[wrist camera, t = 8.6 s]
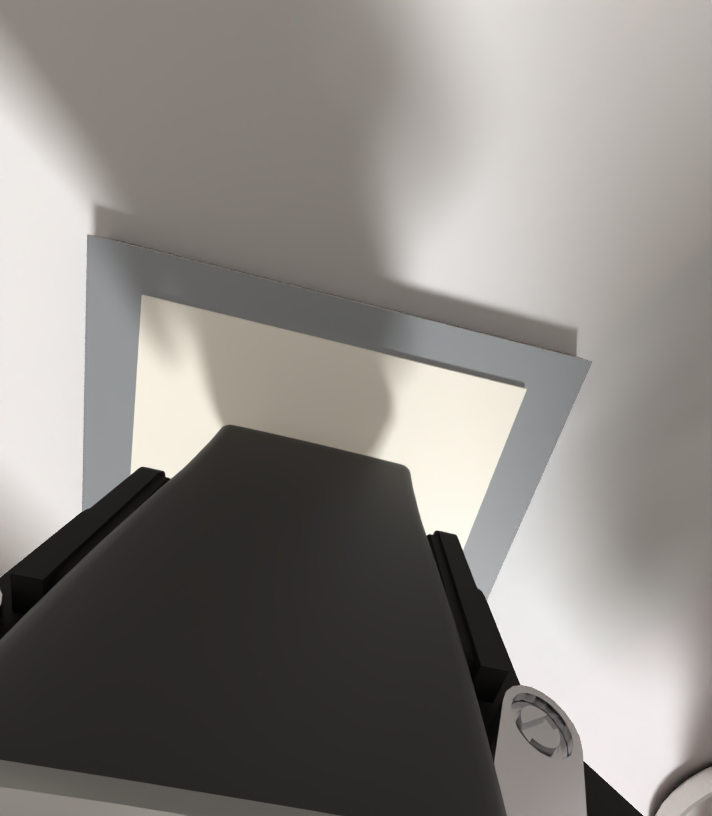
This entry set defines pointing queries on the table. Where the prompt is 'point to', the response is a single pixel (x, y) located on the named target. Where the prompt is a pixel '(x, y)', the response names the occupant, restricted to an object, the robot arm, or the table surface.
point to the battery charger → (258, 644)
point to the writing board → (316, 388)
